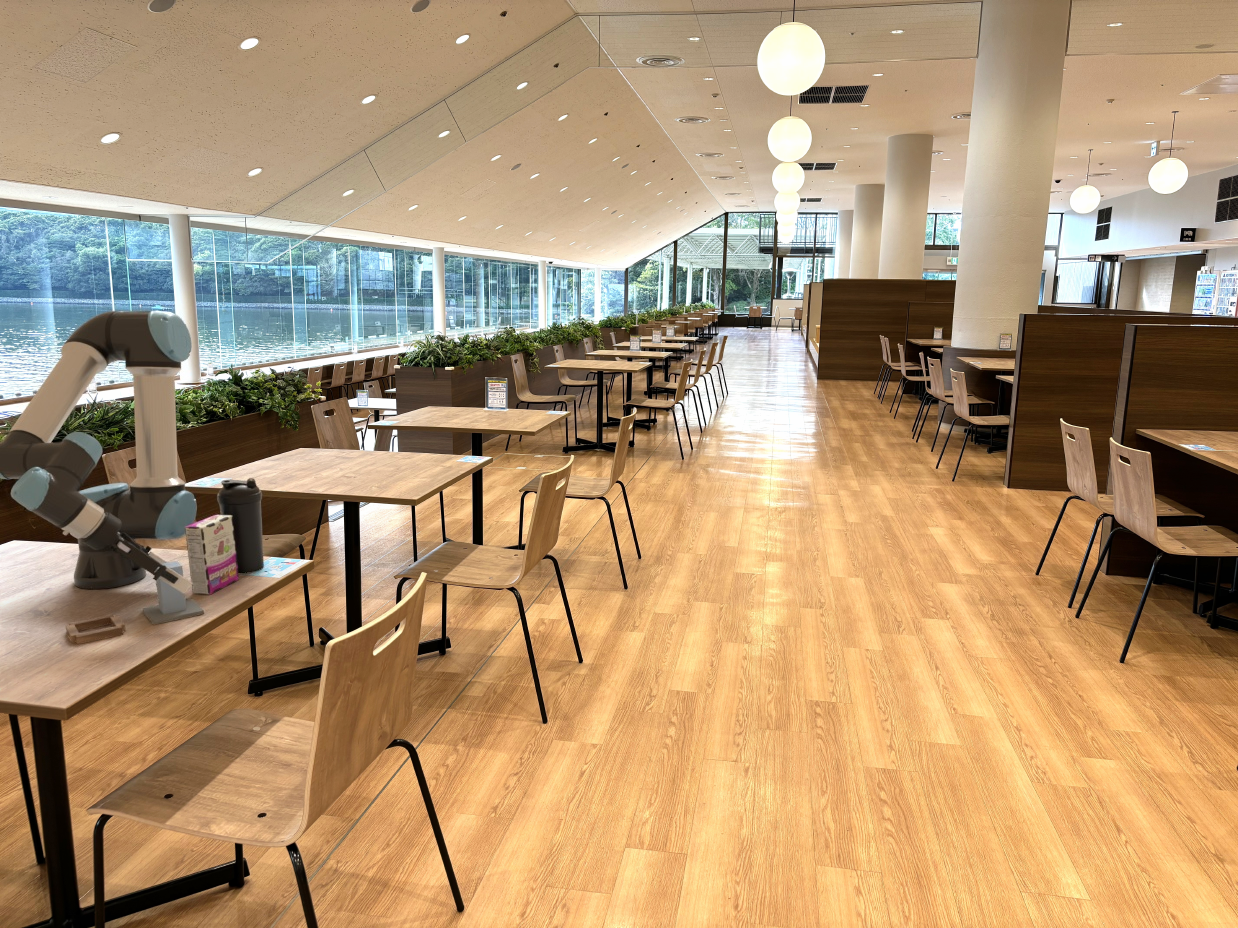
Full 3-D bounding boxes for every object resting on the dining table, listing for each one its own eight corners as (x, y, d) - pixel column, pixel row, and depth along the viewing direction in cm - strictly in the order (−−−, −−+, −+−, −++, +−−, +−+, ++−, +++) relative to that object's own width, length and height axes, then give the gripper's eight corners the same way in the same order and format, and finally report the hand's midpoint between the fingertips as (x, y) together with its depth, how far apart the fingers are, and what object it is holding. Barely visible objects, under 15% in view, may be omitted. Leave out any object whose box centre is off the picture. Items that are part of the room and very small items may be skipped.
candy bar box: (221, 578, 211) (215, 513, 208) (239, 580, 210) (233, 514, 207) (190, 594, 200) (183, 525, 197) (209, 595, 199) (202, 527, 196)
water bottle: (224, 565, 221) (216, 477, 217) (267, 560, 225) (260, 474, 221) (223, 576, 212) (215, 485, 208) (268, 571, 216) (260, 482, 212)
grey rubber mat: (142, 611, 189) (142, 608, 189) (191, 601, 195) (191, 597, 195) (153, 624, 181) (152, 621, 181) (204, 613, 188) (203, 610, 187)
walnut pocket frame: (65, 630, 178) (64, 624, 178) (117, 620, 184) (116, 613, 184) (73, 645, 171) (72, 638, 170) (127, 633, 177) (126, 626, 176)
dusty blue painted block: (159, 608, 188) (154, 564, 186) (181, 603, 191) (177, 560, 189) (163, 614, 185) (159, 569, 183) (186, 609, 188) (182, 565, 186)
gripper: (68, 527, 184) (153, 579, 196) (90, 554, 165) (182, 610, 178) (94, 499, 186) (176, 553, 199) (118, 522, 167) (207, 580, 180)
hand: (179, 580), depth 188 cm, fingers open, 13 cm apart
